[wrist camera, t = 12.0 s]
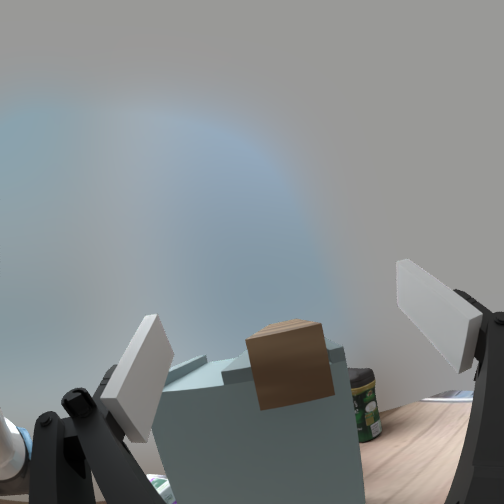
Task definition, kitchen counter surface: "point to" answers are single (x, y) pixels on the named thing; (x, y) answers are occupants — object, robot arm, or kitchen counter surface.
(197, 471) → the grey-blue storage bin
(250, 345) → the walnut slat
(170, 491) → the syrup box
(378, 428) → the coffee jar
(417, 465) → the kitchen counter surface
